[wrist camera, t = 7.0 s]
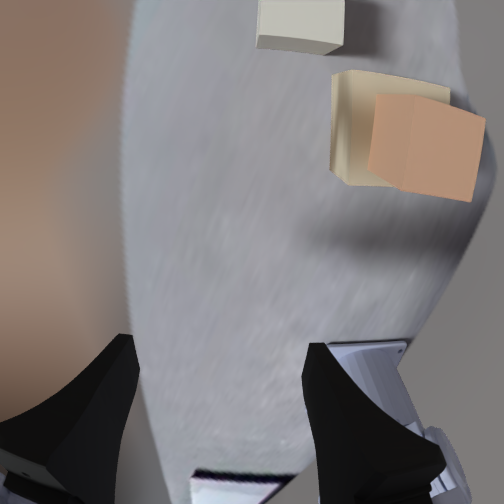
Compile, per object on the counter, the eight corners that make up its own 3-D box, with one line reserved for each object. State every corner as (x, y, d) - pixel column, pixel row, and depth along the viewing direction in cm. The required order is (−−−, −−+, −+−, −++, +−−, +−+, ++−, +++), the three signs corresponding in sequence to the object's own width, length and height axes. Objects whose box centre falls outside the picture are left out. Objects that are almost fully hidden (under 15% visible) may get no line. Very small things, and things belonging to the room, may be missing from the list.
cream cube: (323, 55, 16) (343, 45, 12) (255, 48, 16) (259, 34, 12) (325, -1, 14) (345, -22, 11) (259, -9, 14) (263, -34, 10)
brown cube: (429, 179, 16) (470, 202, 12) (367, 169, 15) (401, 190, 12) (440, 111, 14) (485, 118, 10) (376, 94, 14) (415, 94, 10)
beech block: (410, 173, 19) (441, 189, 16) (328, 169, 19) (348, 185, 16) (416, 87, 17) (450, 88, 13) (330, 75, 17) (352, 69, 13)
